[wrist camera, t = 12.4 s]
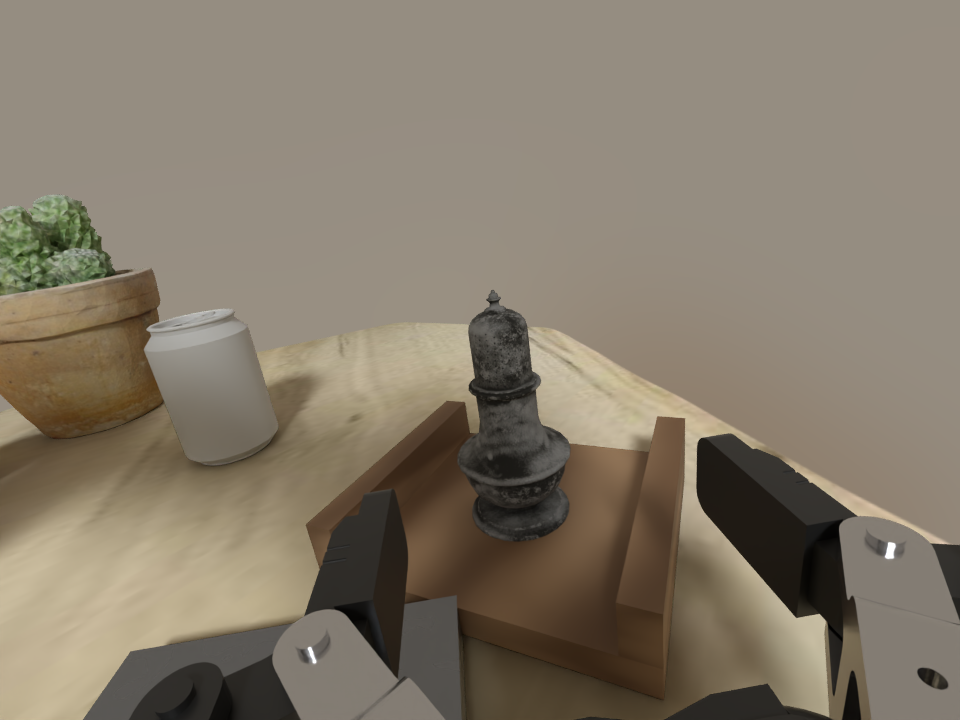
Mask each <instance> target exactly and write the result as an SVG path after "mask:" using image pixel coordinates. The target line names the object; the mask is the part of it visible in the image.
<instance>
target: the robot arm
mask: <svg viewBox="0 0 960 720" xmlns="http://www.w3.org/2000/svg"><path fill="white" fill-rule="evenodd" d="M696 488H697V496H698V499H699V502H700V505H701V507H702V509H703V511H704V512H705V513H706V515H707V516H708V517H709V518H710V519H711V520H712V522H713V523H714V524H715V525H716V526H717V527H718V528H719V530H720V531H721V532H722V533H723V534H724V535H725V536H726V538H727V539H728V540H729V541H730V542H731V543H732V544H733V546H734V547H735V548H736V549H737V550H738V551H739V553H740V554H741V555H742V556H743V557H744V558H745V559H746V561H747V562H748V563H749V564H750V565H751V566H752V567H753V569H754V570H755V571H756V572H757V573H758V574H759V576H760V577H761V578H762V579H763V580H764V581H765V582H766V584H767V585H768V586H769V587H770V588H771V589H772V590H773V592H774V593H775V594H776V595H777V596H778V597H779V598H780V600H781V601H782V602H783V603H784V604H785V605H786V607H787V608H788V609H789V610H790V611H791V612H792V613H793V615H794V616H795V617H796V618H798V617H804V616H809V615H815V614H820V615H821V616H822V617H823V618H824V619H825V620H826V625H825V633H824V635H825V652H826V668H827V684H828V700H829V717H826V716H824V715H821V714H818V713H814V712H811V711H808V710H804V709H799V708H794V707H790V706H783V705H782V704H781V702H780V701H779V699H778V698H777V697H776V695H775V694H774V692H773V691H772V689H771V688H770V686H769V685H768V684H764V685H758V686H753V687H747V688H742V689H737V690H731V691H726V692H721V693H715V694H710V695H709V696H707V697H705V698H703V699H701V700H699V701H698V702H696V703H694V704H692V705H690V706H688V707H687V708H685V709H683V710H681V711H679V712H678V713H676V714H674V715H672V716H670V717H668V718H667V719H665V720H960V545H947V544H931V543H929V541H928V540H926V539H925V538H924V537H923V536H922V535H920V534H919V533H917V532H915V531H914V530H912V529H910V528H908V527H906V526H904V525H901V524H899V523H896V522H893V521H890V520H886V519H882V518H877V517H868V516H857V515H855V514H854V513H853V512H851V511H850V510H849V509H847V508H846V507H844V506H843V505H842V504H840V503H839V502H838V501H836V500H835V499H834V498H832V497H831V496H830V495H828V494H827V493H825V492H824V491H823V490H821V489H820V488H819V487H817V486H816V485H815V484H813V483H809V481H808V479H806V478H805V477H804V476H802V475H801V474H800V473H798V472H797V473H796V472H795V470H794V469H793V468H792V467H790V466H789V465H787V464H786V463H785V462H783V461H782V460H781V459H779V458H778V457H775V456H773V455H770V454H768V453H766V452H763V451H761V450H758V449H752V448H750V447H749V446H748V445H746V444H745V443H744V442H743V441H741V440H740V439H739V438H737V437H736V436H735V435H733V434H723V435H717V436H711V437H705V438H701V439H700V440H699V441H698V445H697V486H696ZM322 563H323V565H321V567H320V570H319V573H318V576H317V579H316V582H315V585H314V588H313V591H312V594H311V597H310V600H309V603H308V606H307V609H306V612H305V615H304V617H302V618H301V619H299V620H298V621H296V622H295V623H294V624H292V625H291V626H290V627H289V628H288V629H287V630H286V631H285V632H284V633H283V634H282V636H281V637H280V639H279V640H278V642H277V644H276V646H275V649H274V652H273V654H271V655H270V656H268V657H266V658H264V659H262V660H260V661H258V662H256V663H254V664H252V665H250V666H247V667H245V668H243V669H241V670H239V671H236V672H234V673H232V674H230V675H228V676H225V677H224V676H223V674H222V672H221V670H220V668H219V667H218V666H217V665H215V664H213V663H209V662H200V663H194V664H191V665H188V666H185V667H183V668H181V669H179V670H177V671H175V672H173V673H171V674H170V675H168V676H167V677H165V678H164V679H163V680H161V681H160V682H159V683H157V684H156V685H155V686H154V687H153V688H152V689H151V690H150V691H149V692H148V693H147V694H146V695H145V696H144V697H143V699H142V700H141V701H140V702H139V704H138V705H137V707H136V708H135V710H134V711H133V713H132V715H131V717H130V718H129V720H445V719H444V717H443V716H442V715H441V714H440V713H439V711H438V710H437V709H436V708H435V707H434V705H433V704H432V703H431V702H430V701H429V699H428V698H427V697H426V696H425V695H424V693H423V692H422V691H421V690H420V689H419V687H418V686H417V685H416V684H415V683H414V682H413V681H412V680H411V679H410V678H408V677H406V676H404V677H403V678H402V679H401V680H400V681H399V680H398V673H399V661H400V650H401V639H402V628H403V616H404V605H405V594H406V583H407V571H408V546H407V539H406V535H405V530H404V526H403V522H402V517H401V513H400V509H399V504H398V500H397V496H396V492H395V490H394V489H387V490H381V491H375V492H369V493H365V494H364V495H363V498H362V502H361V506H360V510H359V513H358V515H353V516H347V517H345V518H344V519H343V520H342V521H341V522H340V524H339V525H338V526H337V527H336V528H335V529H334V531H333V532H332V534H331V537H330V540H329V543H328V546H327V552H325V555H324V558H323V561H322ZM576 720H620V719H609V718H598V717H587V718H581V719H576Z"/></svg>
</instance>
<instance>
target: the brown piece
mask: <svg viewBox="0 0 960 720" xmlns="http://www.w3.org/2000/svg"><path fill="white" fill-rule="evenodd" d="M474 435H476V434H474V433H470V431H469V425H468V419H467V412H466V406H465V402H454V401H446V402H445V403H444V404H443V405H442V406H441V407H439V408H438V409H437V410H436V411H435V412H434V413H433V414H432V415H430V416H429V417H428V418H427V419H426V420H425V421H424V422H422V423H421V424H420V425H419V426H418V427H417V428H416V429H414V430H413V431H412V432H411V433H410V434H409V435H408V436H406V437H405V438H404V439H403V440H402V441H401V442H400V443H398V444H397V445H396V446H395V447H394V448H393V449H392V450H390V451H389V452H388V453H387V454H386V455H385V456H384V457H382V458H381V459H380V460H379V461H378V462H377V463H376V464H374V465H373V466H372V467H371V468H370V469H369V470H368V471H366V472H365V473H364V474H363V475H362V476H361V477H360V478H358V479H357V480H356V481H355V482H354V483H353V484H352V485H350V486H349V487H348V488H347V489H346V490H345V491H344V492H342V493H341V494H340V495H339V496H338V497H337V498H336V499H334V500H333V501H332V502H331V503H330V504H329V505H328V506H326V507H325V508H324V509H323V510H322V511H321V512H320V513H318V514H317V515H316V516H315V517H314V518H313V519H312V520H310V521H309V522H308V523H307V524H306V527H307V530H308V533H309V536H310V540H311V543H312V546H313V549H314V552H315V555H316V559H317V562H318V565H319V568H320V567H321V565H323V563H322V561H323V558H324V555H325V552H327V546H328V543H329V540H330V537H331V534H332V532H333V531H334V529H335V528H336V527H337V526H338V525H339V524H340V522H341V521H342V520H343V519H344V518H345V517H347V516H353V515H358V513H359V510H360V506H361V502H362V498H363V495H364V494H365V493H369V492H375V491H381V490H387V489H394V490H395V492H396V496H397V500H398V504H399V509H400V513H401V517H402V522H403V526H404V530H405V535H406V539H407V546H408V571H407V583H406V594H405V604H408V603H414V602H420V601H426V600H431V599H437V598H443V597H449V596H455V595H457V610H458V615H459V620H460V625H461V630H462V634H464V635H467V636H470V637H473V638H476V639H479V640H482V641H485V642H488V643H491V644H494V645H497V646H501V647H504V648H507V649H510V650H513V651H516V652H519V653H522V654H525V655H528V656H531V657H534V658H537V659H540V660H543V661H546V662H549V663H552V664H555V665H558V666H561V667H564V668H567V669H570V670H574V671H577V672H580V673H583V674H586V675H589V676H592V677H595V678H598V679H601V680H604V681H607V682H610V683H613V684H616V685H619V686H622V687H625V688H628V689H631V690H634V691H637V692H640V693H643V694H647V695H650V696H653V697H656V698H659V699H662V700H664V694H665V683H666V672H667V661H668V650H669V639H670V628H671V618H672V607H673V596H674V585H675V574H676V563H677V552H678V542H679V531H680V520H681V509H682V498H683V487H684V468H685V418H672V417H659V416H657V420H656V425H655V429H654V434H653V438H652V443H651V447H650V452H643V451H634V450H625V449H615V448H606V447H596V446H587V445H578V444H569V445H570V448H571V449H570V457H569V459H568V460H567V462H566V464H565V471H564V474H563V476H562V479H561V481H560V483H559V485H558V487H560V488H561V489H562V490H563V491H564V493H565V494H566V495H567V498H568V501H569V514H568V516H567V518H566V520H565V522H564V523H563V524H562V525H561V526H560V527H559V528H558V529H556V530H555V531H553V532H551V533H550V534H548V535H546V536H543V537H540V538H537V539H534V540H528V541H520V542H517V541H504V540H500V539H496V538H493V537H491V536H489V535H487V534H485V533H484V532H482V531H481V530H480V529H479V528H478V527H477V526H476V524H475V522H474V519H473V516H472V507H473V504H474V502H475V500H476V498H477V497H478V496H479V495H478V494H477V493H476V492H475V490H474V489H473V487H472V486H471V485H470V483H469V481H468V479H467V477H466V475H465V474H464V473H463V472H462V471H461V469H460V467H459V465H458V463H457V458H458V452H459V451H460V449H461V447H462V445H463V444H464V443H465V442H466V441H467V440H468V439H470V438H471V437H473V436H474ZM445 600H446V599H445Z"/></svg>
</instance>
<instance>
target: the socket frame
mask: <svg viewBox="0 0 960 720" xmlns="http://www.w3.org/2000/svg"><path fill="white" fill-rule="evenodd" d="M445 599H446V600H445ZM293 624H294V623H293ZM291 625H292V624H287V625H281V626H275V627H270V628H264V629H258V630H252V631H247V632H241V633H235V634H229V635H223V636H218V637H212V638H206V639H200V640H195V641H189V642H183V643H177V644H171V645H166V646H160V647H154V648H148V649H143V650H137V651H131V652H130V653H129V655H128V656H127V658H126V659H125V660H124V662H123V663H122V665H121V666H120V668H119V669H118V670H117V672H116V673H115V675H114V676H113V678H112V679H111V680H110V682H109V683H108V685H107V686H106V688H105V689H104V690H103V692H102V693H101V695H100V696H99V698H98V699H97V700H96V702H95V703H94V705H93V706H92V708H91V709H90V710H89V712H88V713H87V715H86V716H85V718H84V719H83V720H129V718H130V717H131V715H132V713H133V711H134V710H135V708H136V707H137V705H138V704H139V702H140V701H141V700H142V699H143V697H144V696H145V695H146V694H147V693H148V692H149V691H150V690H151V689H152V688H153V687H154V686H155V685H156V684H157V683H159V682H160V681H161V680H163V679H164V678H165V677H167V676H168V675H170V674H171V673H173V672H175V671H177V670H179V669H181V668H183V667H185V666H188V665H191V664H194V663H200V662H209V663H213V664H215V665H217V666H218V667H219V668H220V670H221V672H222V674H223V676H224V677H225V676H228V675H230V674H232V673H234V672H236V671H239V670H241V669H243V668H245V667H247V666H250V665H252V664H254V663H256V662H258V661H260V660H262V659H264V658H266V657H268V656H270V655H271V654H273V652H274V649H275V646H276V644H277V642H278V640H279V639H280V637H281V636H282V634H283V633H284V632H285V631H286V630H287V629H288V628H289V627H290V626H291ZM404 676H406V677H408V678H410V679H411V680H412V681H413V682H414V683H415V684H416V685H417V686H418V687H419V689H420V690H421V691H422V692H423V693H424V695H425V696H426V697H427V698H428V699H429V701H430V702H431V703H432V704H433V705H434V707H435V708H436V709H437V710H438V711H439V713H440V714H441V715H442V716H443V717H444V719H445V720H467V717H466V697H465V677H464V658H463V638H462V630H461V625H460V620H459V615H458V610H457V595H455V596H449V597H443V598H437V599H431V600H426V601H420V602H414V603H408V604H405V605H404V616H403V628H402V639H401V650H400V661H399V673H398V680H399V681H400V680H401V679H402V678H403V677H404Z"/></svg>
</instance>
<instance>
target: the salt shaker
mask: <svg viewBox="0 0 960 720" xmlns="http://www.w3.org/2000/svg"><path fill="white" fill-rule="evenodd" d="M500 299H501V297H498V294H497V293H495V291H494V290H491V293H490V294H489V298H488V299H486V300H487V301H488V302H489V303H490V307H488V308H486V309H485V311H484V312H482V313H480V314H478V315H477V316H476V317H475V318H474V319H473V320H472V321H471V323H470V325H469V331H468V334H469V341H470V347H471V354H472V361H473V367H474V374H475V378H474V379H473V380H472V381H471V382H470V384H469V391H470V392H471V394H473V395H474V396H476V398H477V405H478V411H479V418H480V428H479V433H477V434H476V435H474V436H473V437H471V438H470V439H468V440H467V441H466V442H465V443H464V444H463V445H462V447H461V449H460V451H459V452H458V458H457V463H458V465H459V467H460V469H461V471H462V472H463V473H464V474H465V475H466V477H467V479H468V481H469V483H470V485H471V486H472V487H473V489H474V490H475V492H476V493H477V494H478V495H479V496H478V497H477V498H476V500H475V502H474V504H473V507H472V516H473V519H474V522H475V524H476V526H477V527H478V528H479V529H480V530H481V531H482V532H484V533H485V534H487V535H489V536H491V537H493V538H496V539H500V540H504V541H517V542H520V541H528V540H534V539H537V538H540V537H543V536H546V535H548V534H550V533H551V532H553V531H555V530H556V529H558V528H559V527H560V526H561V525H562V524H563V523H564V522H565V520H566V518H567V516H568V514H569V501H568V498H567V495H566V494H565V493H564V491H563V490H562V489H561V488H560V487H558V485H559V483H560V481H561V479H562V476H563V474H564V471H565V464H566V462H567V460H568V459H569V457H570V449H571V448H570V445H569V442H568V440H567V439H566V438H565V437H564V436H563V435H562V434H561V433H560V432H558V431H556V430H554V429H552V428H550V427H546V426H543V425H542V424H541V422H540V420H539V417H538V409H537V399H536V389H537V388H538V386H539V385H540V383H541V379H540V376H539V375H537V374H536V373H535V372H532V367H531V357H530V348H529V338H528V329H527V324H526V321H525V319H524V318H523V317H522V316H521V315H520V314H519V313H517V312H515V311H513V310H510V309H506V308H505V307H504V306H500V305H499V300H500Z"/></svg>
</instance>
